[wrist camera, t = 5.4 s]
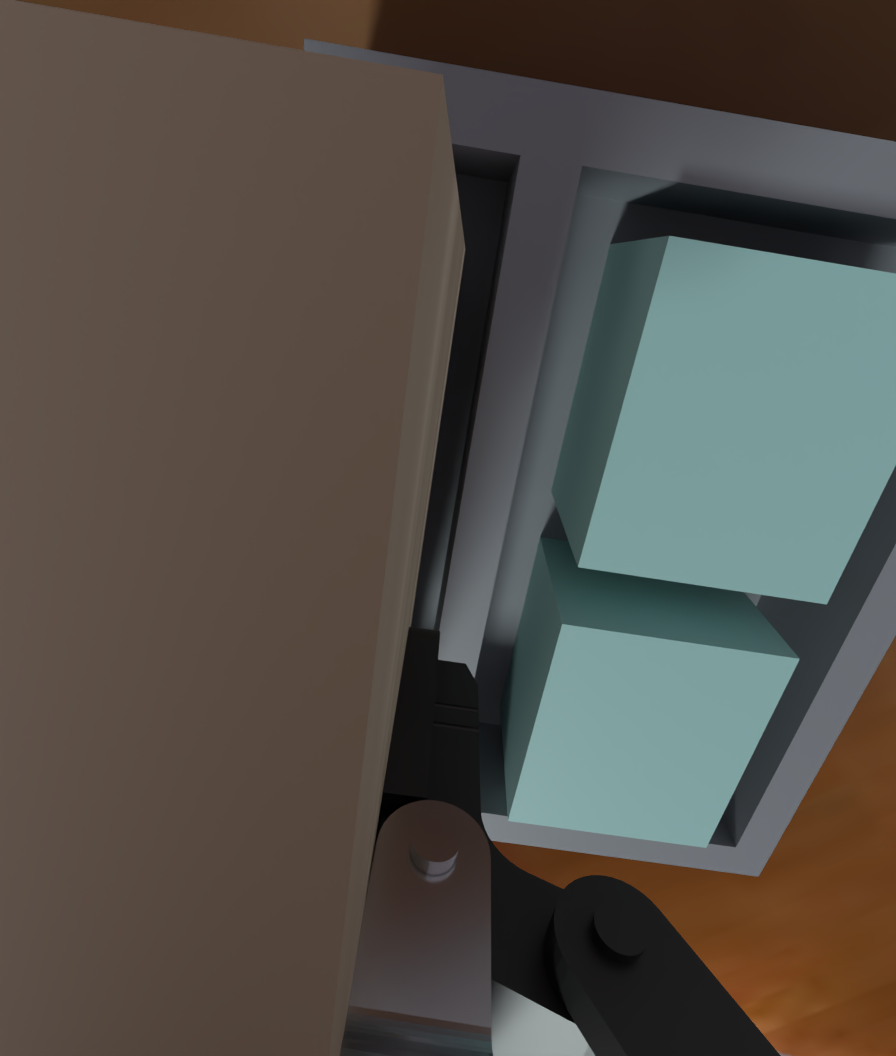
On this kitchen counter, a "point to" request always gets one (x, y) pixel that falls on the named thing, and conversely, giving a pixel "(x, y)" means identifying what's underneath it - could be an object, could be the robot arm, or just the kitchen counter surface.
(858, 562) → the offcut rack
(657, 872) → the kitchen counter surface
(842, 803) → the kitchen counter surface
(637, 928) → the robot arm
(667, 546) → the offcut
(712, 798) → the offcut
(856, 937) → the kitchen counter surface
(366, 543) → the birch sheet
